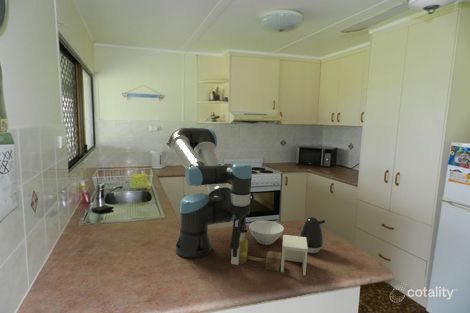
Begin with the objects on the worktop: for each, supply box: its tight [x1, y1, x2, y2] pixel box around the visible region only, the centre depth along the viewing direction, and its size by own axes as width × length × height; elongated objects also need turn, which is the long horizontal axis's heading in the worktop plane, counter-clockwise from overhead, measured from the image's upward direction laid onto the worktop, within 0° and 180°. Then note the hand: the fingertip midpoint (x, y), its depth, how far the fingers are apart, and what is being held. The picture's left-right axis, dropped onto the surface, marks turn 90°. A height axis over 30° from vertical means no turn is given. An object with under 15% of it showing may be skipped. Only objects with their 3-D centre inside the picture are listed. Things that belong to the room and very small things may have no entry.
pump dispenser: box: [299, 216, 326, 254], centre depth 122 cm, size 10×10×15 cm
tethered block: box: [239, 237, 282, 272], centre depth 110 cm, size 17×5×9 cm, turn 74°
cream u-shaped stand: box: [280, 234, 308, 276], centre depth 109 cm, size 9×10×10 cm
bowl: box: [248, 220, 285, 246], centre depth 131 cm, size 16×16×7 cm
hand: (238, 255), depth 112 cm, fingers open, 13 cm apart
